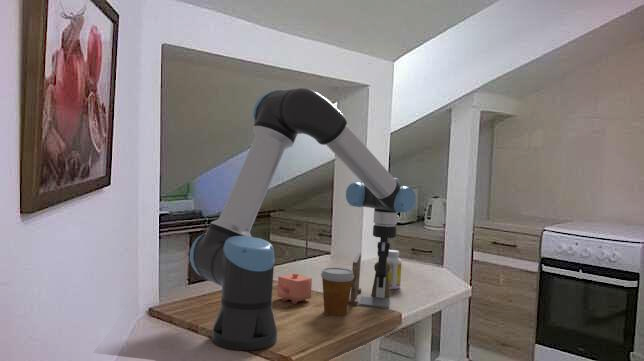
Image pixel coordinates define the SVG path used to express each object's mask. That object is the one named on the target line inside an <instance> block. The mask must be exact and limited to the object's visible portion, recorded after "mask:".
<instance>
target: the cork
mask: <svg viewBox="0 0 644 361" xmlns="http://www.w3.org/2000/svg"><path fill="white" fill-rule="evenodd" d="M374 271H375V274H377V273H378V261H377V262H376V263H374ZM389 271H390V264H389V263H386V281H385V297H384V298H385V299H390V296H391V292H390V289H389V276H388V273H389ZM382 273H384V272H382ZM375 274H374V275H375ZM376 286H377V277H375V276H374V279H373V286H372V290H371V297H374V298H379V297H376Z"/></svg>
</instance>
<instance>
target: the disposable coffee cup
mask: <svg viewBox="0 0 644 361" xmlns="http://www.w3.org/2000/svg"><path fill="white" fill-rule="evenodd" d="M320 276H321V279H322V280H321V281H322V291H323V292H322V293H323V294H322V295H323V309H324V310H323V311H324V313H325V314H326V315H329V316H335V317H337V316H338V317H339V316H345V315H347V310H348V306H349V305H348V301H349V299H350V297H351V285H352V280H353V278H354V275H353V271H352V270H351V269H349V268H345V267H325V268H323V269H322V272H320Z"/></svg>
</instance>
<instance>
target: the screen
mask: <svg viewBox="0 0 644 361" xmlns="http://www.w3.org/2000/svg"><path fill="white" fill-rule="evenodd" d="M361 257H362V252H356V254H355V257H354V259H353V260H352V267H351V268H352V271H353V275H354V278H353V280H352V285H351V291H350V298H349V301H348V306H352V307H353V306H359V299H357V297H358V295H359V294H361V293H362V288H361V287H360V276H361V273H360V272H361V261H362V260H361V259H362V258H361Z"/></svg>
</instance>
